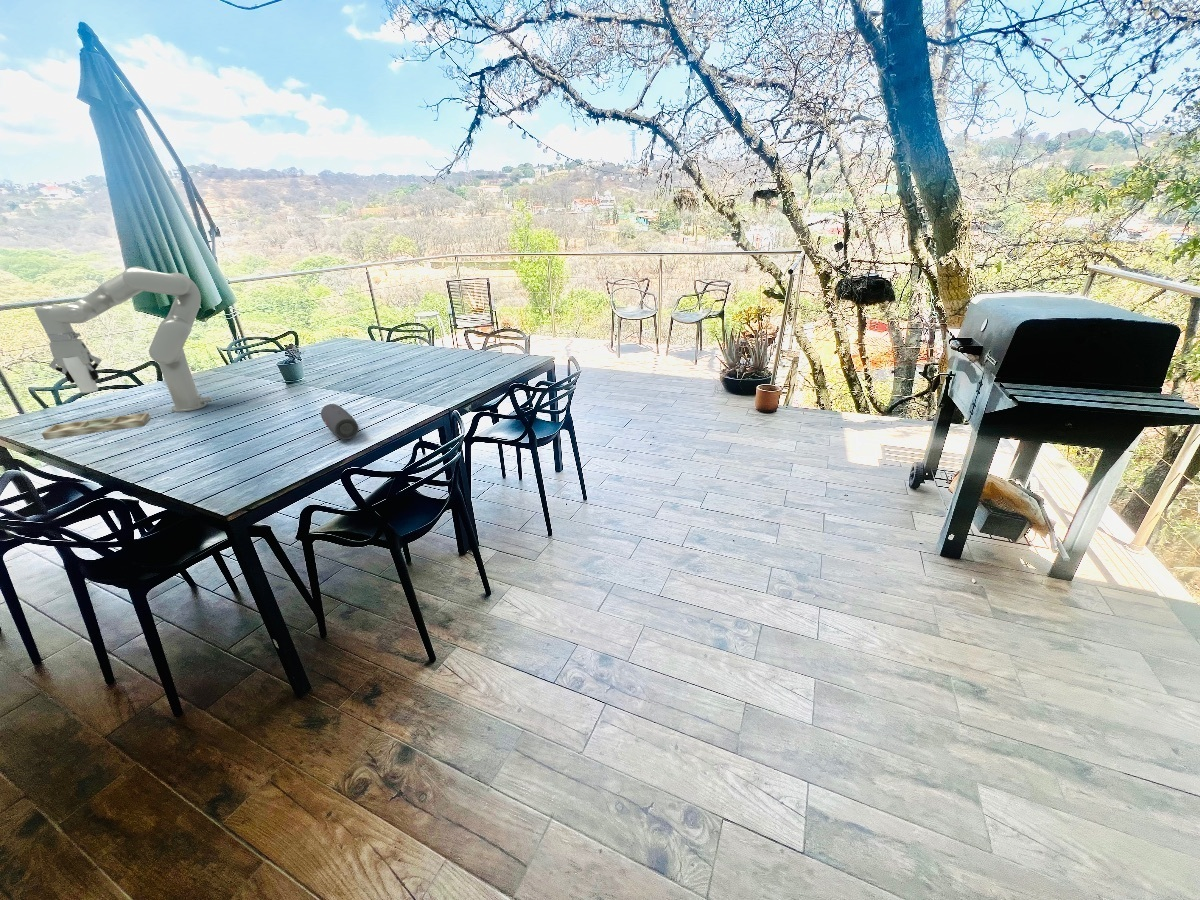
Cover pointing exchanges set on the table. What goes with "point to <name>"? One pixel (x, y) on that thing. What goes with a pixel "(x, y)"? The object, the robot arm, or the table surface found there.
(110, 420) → the wooden compartment tray
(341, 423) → the bluetooth speaker
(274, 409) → the table surface
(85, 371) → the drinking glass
